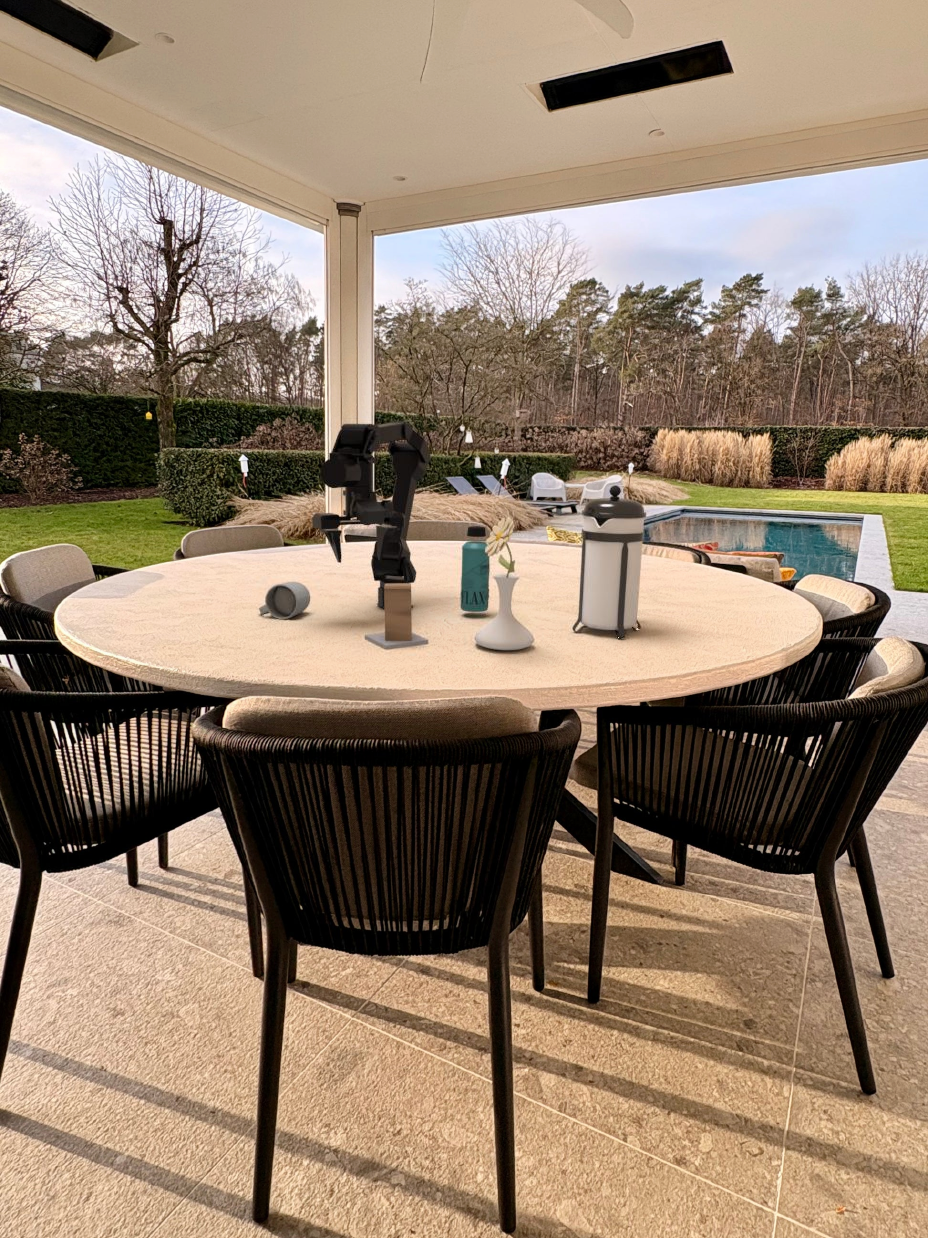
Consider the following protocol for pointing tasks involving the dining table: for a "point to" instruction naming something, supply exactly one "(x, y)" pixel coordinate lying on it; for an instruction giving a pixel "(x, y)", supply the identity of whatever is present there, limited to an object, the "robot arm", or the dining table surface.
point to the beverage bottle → (475, 573)
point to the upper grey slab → (380, 641)
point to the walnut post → (398, 612)
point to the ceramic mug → (286, 600)
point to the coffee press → (610, 563)
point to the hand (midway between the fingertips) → (359, 561)
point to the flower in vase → (503, 599)
